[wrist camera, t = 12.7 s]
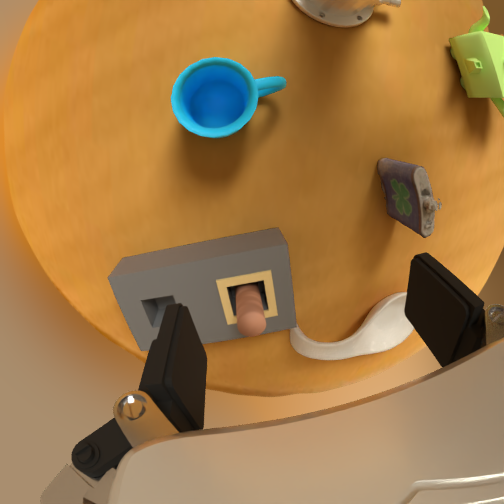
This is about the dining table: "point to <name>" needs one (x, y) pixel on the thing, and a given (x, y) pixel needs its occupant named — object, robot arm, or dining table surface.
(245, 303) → the pin
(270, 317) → the bore block
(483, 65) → the green block with protrusions
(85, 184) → the dining table surface
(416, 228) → the flask
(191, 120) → the mug
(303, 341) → the spoon rest
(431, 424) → the robot arm
